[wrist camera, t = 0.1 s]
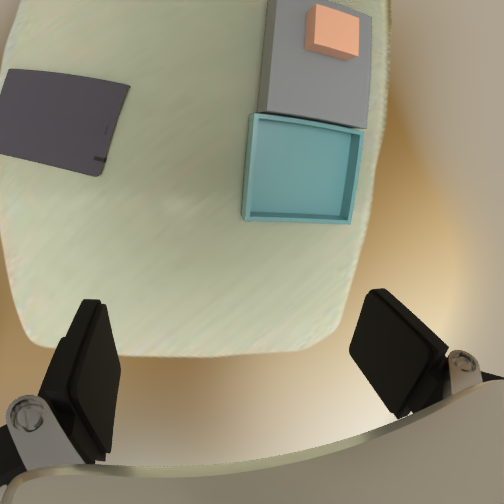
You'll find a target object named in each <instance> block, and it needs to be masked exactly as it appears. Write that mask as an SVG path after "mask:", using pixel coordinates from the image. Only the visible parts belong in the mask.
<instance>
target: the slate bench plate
mask: <svg viewBox="0 0 504 504" xmlns="http://www.w3.org/2000/svg"><path fill="white" fill-rule="evenodd" d="M315 4H319V5H322V6H326V7H329V8H332V9H335V10H338V11H341V12H344V13H347V14H349V15H352V16H355V17H358V18H359V54H358V57H355V58H352V59H349V60H347V61H346V60H343V59H340V58H336V57H333V56H329V55H325V54H322V53H318V52H314V51H310V50H305V49H304V46H305V32H306V16H307V11H308V10H309V9H311V8H312V7H313V6H314V5H315ZM371 55H372V17H371V16H368V15H366V14H363V13H361V12H358V11H356V10H353V9H350V8H348V7H345V6H342V5H339V4H336V3H333V2H330V1H327V0H269V1H268V4H267V14H266V24H265V34H264V44H263V55H262V65H261V75H260V86H259V96H258V107H257V113H259V114H268V115H276V116H283V117H290V118H297V119H303V120H309V121H315V122H321V123H326V124H331V125H336V126H341V127H346V128H360V129H366V128H367V118H368V107H369V94H370V78H371Z"/></svg>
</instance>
